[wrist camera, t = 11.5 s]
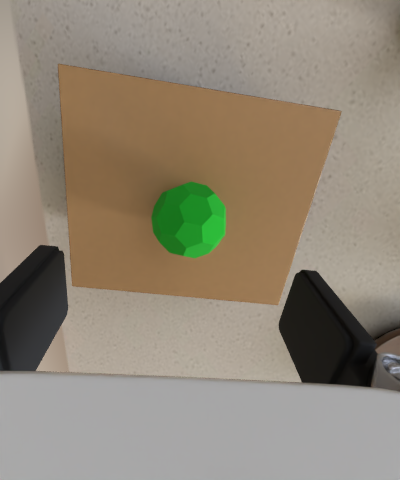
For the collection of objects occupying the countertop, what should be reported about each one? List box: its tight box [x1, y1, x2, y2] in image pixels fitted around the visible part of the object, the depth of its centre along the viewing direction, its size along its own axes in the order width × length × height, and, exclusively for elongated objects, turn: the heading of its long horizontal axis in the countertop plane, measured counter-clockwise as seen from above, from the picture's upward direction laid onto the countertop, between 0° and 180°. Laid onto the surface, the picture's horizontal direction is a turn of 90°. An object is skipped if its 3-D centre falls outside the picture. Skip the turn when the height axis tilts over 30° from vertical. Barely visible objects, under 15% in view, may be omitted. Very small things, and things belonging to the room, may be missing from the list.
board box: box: [58, 64, 341, 305], centre depth 24 cm, size 18×16×7 cm
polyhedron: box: [151, 182, 226, 258], centre depth 18 cm, size 5×5×5 cm
